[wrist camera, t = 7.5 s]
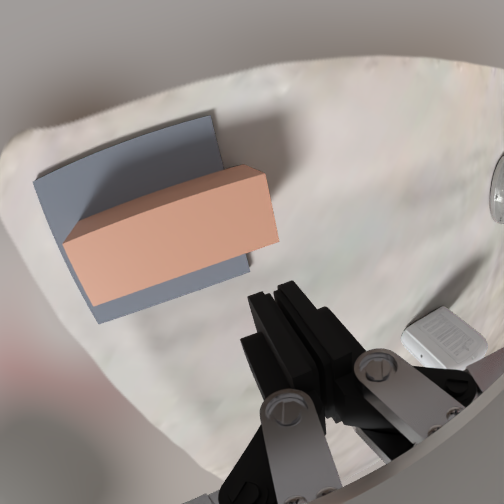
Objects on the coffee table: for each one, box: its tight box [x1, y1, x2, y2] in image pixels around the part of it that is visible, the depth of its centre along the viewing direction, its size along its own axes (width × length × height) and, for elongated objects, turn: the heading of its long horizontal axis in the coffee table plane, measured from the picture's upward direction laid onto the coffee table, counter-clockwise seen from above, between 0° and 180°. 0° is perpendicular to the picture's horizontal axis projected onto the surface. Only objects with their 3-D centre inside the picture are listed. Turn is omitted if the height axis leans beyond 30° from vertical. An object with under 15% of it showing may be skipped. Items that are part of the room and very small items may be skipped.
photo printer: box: [401, 306, 488, 371], centre depth 37 cm, size 10×4×12 cm, turn 100°
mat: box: [33, 115, 250, 324], centre depth 23 cm, size 15×14×1 cm
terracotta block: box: [62, 164, 279, 307], centre depth 21 cm, size 5×5×14 cm
